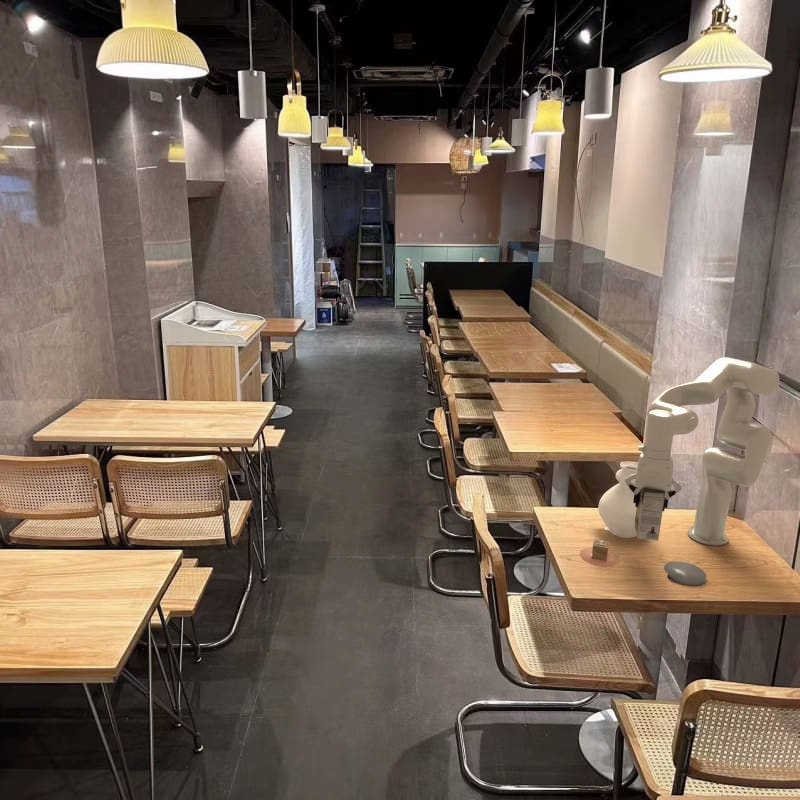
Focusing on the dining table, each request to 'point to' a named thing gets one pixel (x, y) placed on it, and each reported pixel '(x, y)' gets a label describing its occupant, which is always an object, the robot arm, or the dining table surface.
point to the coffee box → (649, 514)
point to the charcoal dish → (685, 573)
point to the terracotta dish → (587, 556)
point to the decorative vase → (620, 504)
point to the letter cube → (600, 549)
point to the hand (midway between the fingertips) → (649, 507)
